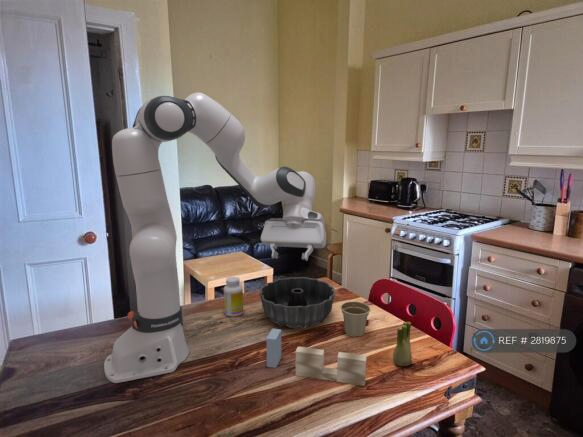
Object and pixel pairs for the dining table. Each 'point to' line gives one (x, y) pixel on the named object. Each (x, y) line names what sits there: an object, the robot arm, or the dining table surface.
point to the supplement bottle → (233, 297)
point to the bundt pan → (297, 301)
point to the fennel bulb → (403, 346)
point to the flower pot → (355, 317)
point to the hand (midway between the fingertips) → (289, 259)
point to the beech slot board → (347, 371)
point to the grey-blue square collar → (273, 348)
